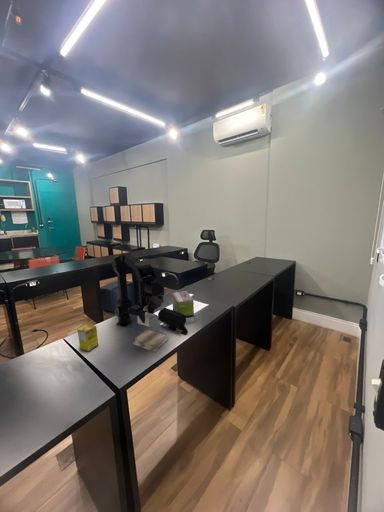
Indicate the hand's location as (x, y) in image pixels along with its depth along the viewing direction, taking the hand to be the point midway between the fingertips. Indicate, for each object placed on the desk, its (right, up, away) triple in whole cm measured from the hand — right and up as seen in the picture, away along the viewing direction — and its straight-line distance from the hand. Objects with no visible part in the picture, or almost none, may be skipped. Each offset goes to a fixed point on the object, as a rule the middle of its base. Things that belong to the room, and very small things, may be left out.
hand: (147, 320), depth 105 cm
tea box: (+16, -7, +27) cm, 32 cm away
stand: (+1, -12, +3) cm, 12 cm away
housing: (0, -1, 0) cm, 1 cm away
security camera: (+12, -9, +15) cm, 21 cm away
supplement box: (-28, -13, -1) cm, 31 cm away
